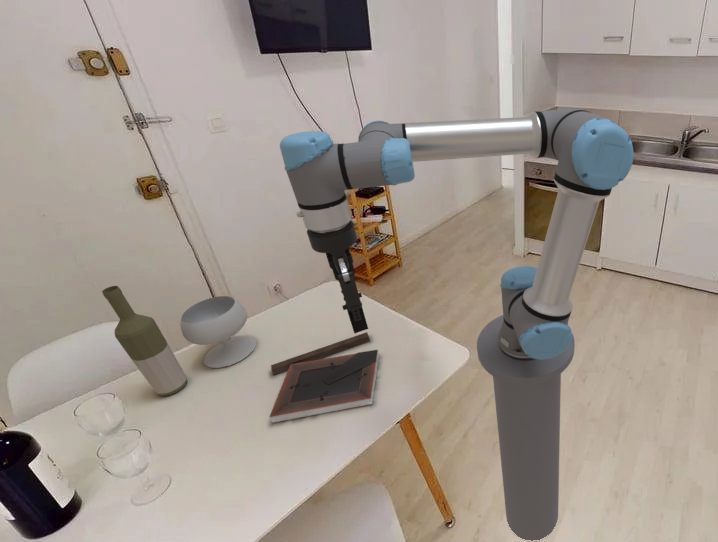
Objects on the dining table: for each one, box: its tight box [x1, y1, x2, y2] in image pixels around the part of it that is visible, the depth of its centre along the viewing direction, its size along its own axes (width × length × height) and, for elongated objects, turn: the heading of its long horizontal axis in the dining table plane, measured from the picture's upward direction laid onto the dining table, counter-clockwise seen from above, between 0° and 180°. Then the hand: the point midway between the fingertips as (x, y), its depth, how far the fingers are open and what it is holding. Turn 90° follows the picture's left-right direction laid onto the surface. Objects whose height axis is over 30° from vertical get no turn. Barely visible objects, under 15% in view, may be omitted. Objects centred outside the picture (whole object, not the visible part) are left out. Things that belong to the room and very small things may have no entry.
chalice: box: [179, 295, 257, 369], centre depth 109 cm, size 14×14×15 cm
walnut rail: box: [270, 331, 371, 376], centre depth 110 cm, size 24×2×2 cm, turn 120°
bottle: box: [101, 285, 188, 397], centre depth 94 cm, size 7×7×30 cm
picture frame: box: [269, 349, 380, 423], centre depth 100 cm, size 16×2×22 cm
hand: (360, 329), depth 82 cm, fingers closed
